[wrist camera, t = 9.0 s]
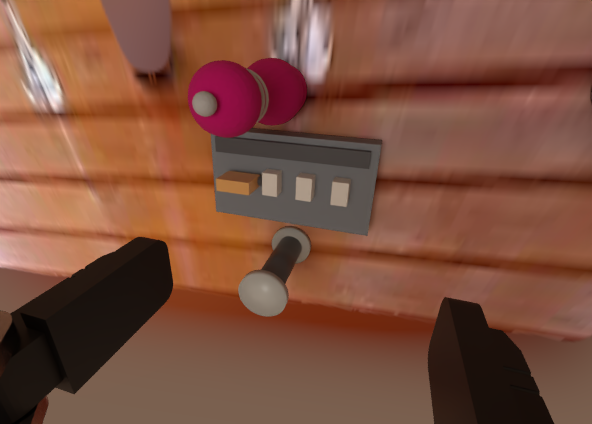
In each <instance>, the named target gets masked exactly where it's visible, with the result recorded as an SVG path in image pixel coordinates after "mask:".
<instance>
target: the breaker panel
mask: <svg viewBox="0 0 592 424" xmlns="http://www.w3.org/2000/svg"><path fill="white" fill-rule="evenodd" d="M211 143H212V157H213V171H214V185H215V200H216V211H217V212H223V213H230V214H236V215H242V216H248V217H254V218H260V219H267V220H273V221H279V222H285V223H291V224H298V225H304V226H310V227H316V228H322V229H328V230H335V231H341V232H347V233H353V234H359V235H366V236H367V235H368V228H369V222H370V215H371V209H372V202H373V196H374V189H375V183H376V177H377V170H378V164H379V157H380V151H381V144H382V140H375V139H364V138H353V137H342V136H332V135H321V134H310V133H299V132H288V131H278V130H267V129H256V128H251V129H250V130H249V131H248V132H246V133H244V134H243V135H240V136H237V137H232V138H224V137H219V136H216V135H213V134H211ZM228 171H235V172H243V173H251V174H258V175H260V176H261V177H262V186H259V187H258V188H257V189H256V190H255V191H254V192H252V193H251V194H250V195H243V194H236V193H229V192H222V191H217V188H216V178H218V177H219V176H221V175H223V174H224V173H225V172H228Z"/></svg>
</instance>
